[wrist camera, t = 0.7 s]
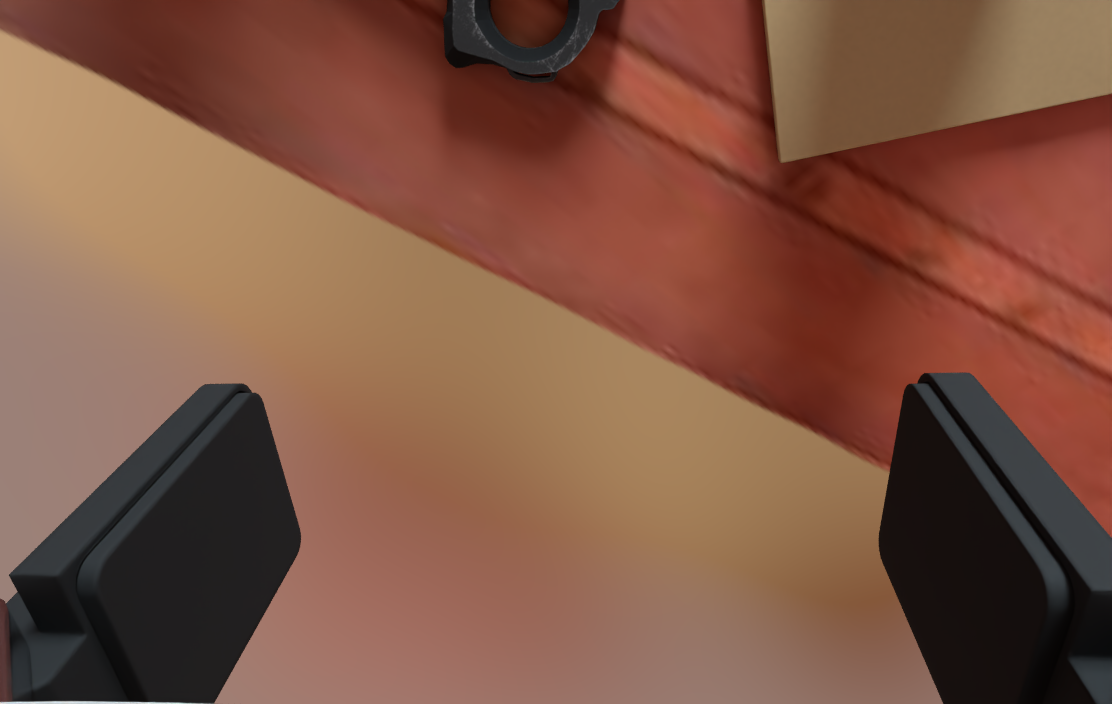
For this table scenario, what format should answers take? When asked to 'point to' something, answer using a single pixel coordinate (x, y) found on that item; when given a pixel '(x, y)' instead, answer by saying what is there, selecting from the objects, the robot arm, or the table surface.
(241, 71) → the table surface
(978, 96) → the cork mat
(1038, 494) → the robot arm
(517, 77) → the gun
